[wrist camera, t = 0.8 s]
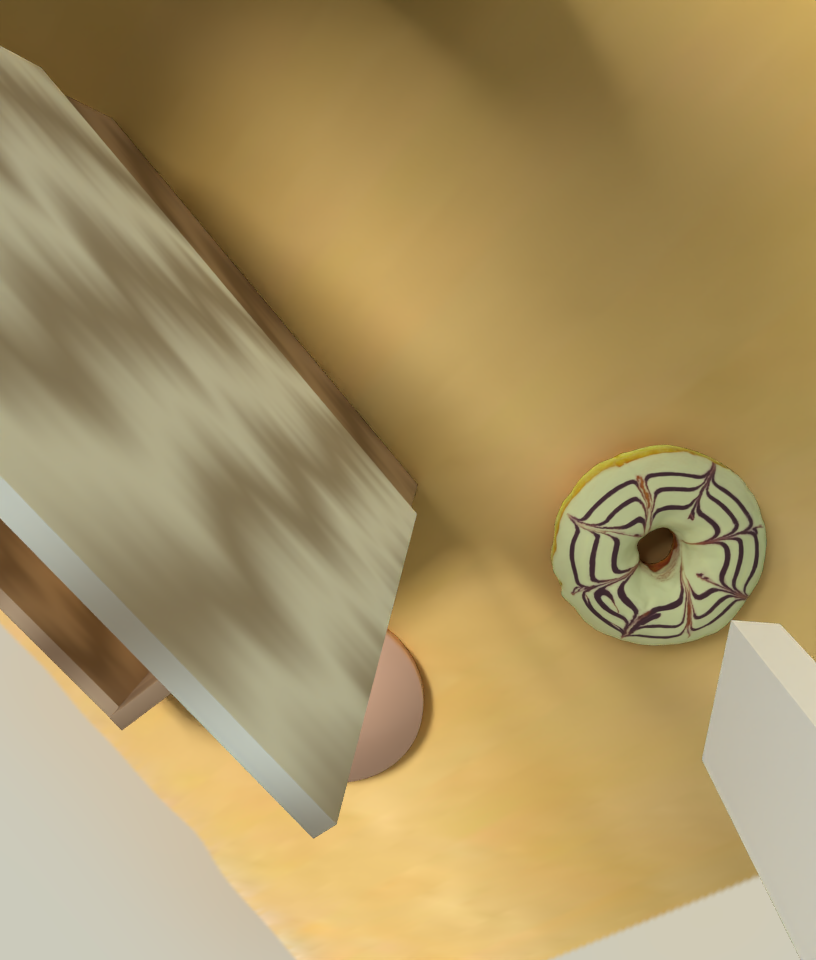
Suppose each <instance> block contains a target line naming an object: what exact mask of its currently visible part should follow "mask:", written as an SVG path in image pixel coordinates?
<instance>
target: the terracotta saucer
mask: <svg viewBox="0 0 816 960" xmlns="http://www.w3.org/2000/svg"><path fill="white" fill-rule="evenodd" d="M423 704H424V692H423V684H422V680H421V676H420V673H419V670H418V668H417V666H416V663H415V661H414V660H413V658H412V656H411V654H410V653H409V651H408V650H407V649H406V647H405V646H404V645H403V644H402V642H401V641H400V640H399V639H398V638H397V637H396V636H395V635H394V634H393V633H392V632H390V631H389V630H388V629H387V631H386V635H385V639H384V643H383V647H382V651H381V655H380V658H379V662H378V666H377V670H376V674H375V678H374V682H373V685H372V689H371V693H370V697H369V701H368V705H367V709H366V712H365V716H364V720H363V724H362V728H361V732H360V736H359V739H358V743H357V747H356V751H355V755H354V759H353V763H352V766H351V770H350V774H349V778H348V782H351V781H357V780H361V779H365V778H368V777H371V776H374V775H376V774H378V773H380V772H382V771H384V770H386V769H388V768H389V767H390V766H392V765H393V764H395V763H396V762H397V761H398V760H399V759H400V758H401V757H402V756H403V755H404V754H405V753H406V752H407V751H408V749H409V748H410V747H411V745H412V743H413V742H414V740H415V738H416V736H417V733H418V731H419V728H420V725H421V720H422V714H423Z"/></svg>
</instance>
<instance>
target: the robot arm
mask: <svg viewBox="0 0 816 960" xmlns="http://www.w3.org/2000/svg"><path fill="white" fill-rule="evenodd" d="M702 761H703V763H704V765H705V767H706V769H707V771H708V773H709V775H710V777H711V779H712V781H713V783H714V785H715V787H716V789H717V791H718V793H719V796H720V798H721V800H722V802H723V804H724V806H725V808H726V810H727V812H728V814H729V816H730V818H731V820H732V822H733V824H734V826H735V828H736V830H737V832H738V834H739V836H740V838H741V840H742V842H743V844H744V846H745V848H746V850H747V852H748V854H749V856H750V858H751V860H752V862H753V864H754V866H755V868H756V870H757V872H758V875H759V877H760V879H761V880H762V883H763V885H764V886H765V889H766V891H767V893H768V895H769V897H770V899H771V901H772V903H773V905H774V907H775V909H776V911H777V913H778V915H779V917H780V919H781V921H782V923H783V925H784V927H785V929H786V931H787V933H788V935H789V937H790V939H791V941H792V943H793V945H794V947H795V949H796V951H797V954H798V956H799V958H800V960H816V662H815V661H814V660H813V659H812V658H811V657H810V656H809V655H808V654H807V652H806V651H805V650H804V649H803V648H802V647H801V646H800V645H799V644H798V643H797V642H796V641H795V639H794V638H793V637H792V636H791V635H790V634H789V633H788V632H787V631H786V630H785V629H784V628H783V627H782V625H781V624H775V623H762V622H749V621H736V620H731V623H730V628H729V633H728V638H727V642H726V647H725V652H724V657H723V661H722V666H721V671H720V676H719V680H718V685H717V690H716V695H715V699H714V704H713V709H712V714H711V718H710V723H709V728H708V733H707V737H706V742H705V747H704V752H703V757H702Z"/></svg>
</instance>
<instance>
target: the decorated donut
mask: <svg viewBox="0 0 816 960" xmlns="http://www.w3.org/2000/svg"><path fill="white" fill-rule="evenodd" d="M554 525H555V528H554V530H555V534H554V540H553V545H552V548H551V562H552V567H553V571H554V574H555V575H556V576H557V578H558V581H559V584H560V586H561V587H562V591H561V594H562V596H563V598H564V599H565V600H567V601H568V602H569V603H570V604H571V605H572V606H573V607H575V609H576V610H577V612H578V613H579V615H580V616H581V617H582V619H583V620H584V621H585V622H586V623H588V624H589V625H590V626H591V627H593V628H594V629H596V630H598V631H600V632H602V633H604V634H606V635H609V636H612V637H615V638H617V639H620V640H623V641H628V642H632V643H635V644H641V645H668V644H680V643H686V642H690V641H694V640H697V639H700V638H702V637H704V636H707V635H711V634H714V633H716V632H718V631H719V630H720V629H722V628H723V627H724V626H726V625H727V624H728V623H729V622H730V621H731V620H732V619H733V618H734V617H735V615H736V614H737V612H738V611H739V610H740V609H741V607H742V606H743V604H744V603H745V601H746V600H747V598H748V597H749V596H750V594H751V592H752V591H753V589H754V588H755V586H756V585H757V583H758V581H759V579H760V576H761V573H762V571H763V565H764V560H765V553H766V545H767V539H766V529H765V524H764V522H763V519H762V517H761V513H760V509H759V506H758V504H757V501H756V499H755V497H754V495H753V494H752V493H751V491H750V490H749V489H748V488H747V486H746V484H745V483H744V481H743V480H742V479H741V478H740V477H739V476H738V475H737V474H735V473H734V472H733V471H732V470H731V469H729V468H728V467H726V466H724V465H723V464H722V463H720V462H718V461H716V460H714V459H712V458H710V457H708V456H706V455H704V454H701V453H699V452H696V451H693V450H690V449H687V448H682V447H678V446H673V445H655V446H648V447H645V448H640V449H637V450H634V451H630V452H625V453H621V454H619V455H617V456H615V457H614V458H611V459H609V460H607V461H604V462H601V463H599V464H597V465H596V466H594V467H593V468H592V469H591V470H590V471H589V472H587V473H586V474H585V475H584V476H583V477H582V478H581V479H580V480H579V481H578V483H577V484H576V485H575V487H574V488H573V490H572V492H571V493H570V494H569V495H568V497H567V498H566V499H565V500H564V501H563V503H562V506H561V508H560V509H559V512H558V514H557V517H556V521H555V524H554ZM661 527H665V528H668V529H669V530H670V532H671V533H673V538H674V539H673V544H672V549H671V550H670V552H669V555H668V556H667V557H666V558H665V559H664V560H663V561H662V560H661V562H659V563H654V564H653V563H651V564H646V563H643V562H641V561H640V560H639V552H638V549H637V544H638V542H639V540H640V539H641V538H642V537H644V536H645V535H647V534H648V533H650V532H651V531H653V530H655V529H657V528H661Z"/></svg>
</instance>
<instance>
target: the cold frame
mask: <svg viewBox="0 0 816 960" xmlns="http://www.w3.org/2000/svg"><path fill="white" fill-rule="evenodd" d="M417 486H418V484H417V483H416V482H415V481H414V480H413V478H412V477H411V476H410V475H409V474H408V472H407V471H406V470H405V469H404V468H403V466H402V465H401V464H400V463H399V462H398V460H397V459H396V458H395V457H394V456H393V454H392V453H391V452H390V451H389V450H388V448H387V447H386V446H385V445H384V444H383V442H382V441H381V440H380V439H379V438H378V436H377V435H376V434H375V433H374V432H373V430H372V429H371V428H370V427H369V426H368V425H367V423H366V422H365V421H364V420H363V419H362V417H361V416H360V415H359V414H358V413H357V411H356V410H355V409H354V408H353V407H352V405H351V404H350V403H349V402H348V401H347V399H346V398H345V397H344V396H343V395H342V393H341V392H340V391H339V390H338V389H337V387H336V386H335V385H334V384H333V383H332V381H331V380H330V379H329V378H328V377H327V375H326V374H325V373H324V372H323V371H322V369H321V368H320V367H319V366H318V365H317V363H316V362H315V361H314V360H313V359H312V357H311V356H310V355H309V354H308V353H307V351H306V350H305V349H304V348H303V347H302V345H301V344H300V343H299V342H298V341H297V339H296V338H295V337H294V336H293V335H292V333H291V332H290V331H289V330H288V329H287V327H286V326H285V325H284V324H283V323H282V321H281V320H280V319H279V318H278V317H277V315H276V314H275V313H274V312H273V311H272V309H271V308H270V307H269V306H268V305H267V303H266V302H265V301H264V300H263V299H262V297H261V296H260V295H259V294H258V293H257V291H256V290H255V289H254V288H253V287H252V285H251V284H250V283H249V282H248V281H247V279H246V278H245V277H244V276H243V275H242V273H241V272H240V271H239V270H238V269H237V267H236V266H235V265H234V264H233V263H232V261H231V260H230V259H229V258H228V257H227V255H226V254H225V253H224V252H223V251H222V249H221V248H220V247H219V246H218V245H217V243H216V242H215V241H214V240H213V239H212V237H211V236H210V235H209V234H208V233H207V231H206V230H205V229H204V228H203V227H202V225H201V224H200V223H199V222H198V221H197V219H196V218H195V217H194V216H193V215H192V213H191V212H190V211H189V210H188V209H187V207H186V206H185V205H184V204H183V203H182V201H181V200H180V199H179V198H178V197H177V195H176V194H175V193H174V192H173V191H172V189H171V188H170V187H169V186H168V185H167V183H166V182H165V181H164V180H163V179H162V177H161V176H160V175H159V174H158V173H157V171H156V170H155V169H154V168H153V167H152V165H151V164H150V163H149V162H148V161H147V159H146V158H145V157H144V156H143V155H142V153H141V152H140V151H139V150H138V149H137V147H136V146H135V145H134V144H133V143H132V141H131V140H130V139H129V138H128V137H127V135H126V134H125V133H124V132H123V131H122V129H121V128H120V127H119V126H118V125H117V124H116V122H115V121H114V120H113V119H112V118H110V117H108V116H106V115H104V114H102V113H100V112H98V111H96V110H94V109H92V108H90V107H88V106H86V105H84V104H82V103H80V102H78V101H76V100H74V99H72V98H70V97H68V96H66V95H64V94H63V93H62V92H61V91H60V89H59V88H58V87H57V86H56V85H55V83H54V82H53V81H52V80H51V79H50V77H49V76H48V75H47V74H46V73H45V72H44V70H43V69H42V68H41V67H39V66H37V65H35V64H34V63H32V62H30V61H28V60H26V59H24V58H22V57H20V56H19V55H17V54H15V53H13V52H11V51H9V50H7V49H5V48H4V47H2V46H0V609H1V610H2V611H3V612H4V613H5V614H6V615H7V616H8V617H9V618H10V619H11V620H12V621H13V622H14V623H15V624H16V625H17V626H18V627H19V628H20V629H21V630H22V631H23V632H24V633H25V634H26V635H27V636H28V637H29V638H30V639H31V640H32V641H33V642H34V643H35V644H36V645H37V646H38V647H39V648H40V649H41V650H42V651H43V652H44V653H45V654H46V655H47V656H48V657H49V658H50V659H51V660H52V661H53V662H54V663H55V664H56V665H57V666H58V667H59V668H60V669H61V670H62V671H63V672H64V673H65V674H66V675H67V676H68V677H69V678H70V679H71V680H72V681H73V682H74V683H75V684H76V685H77V686H78V687H79V688H80V689H81V690H82V691H83V692H84V693H85V694H86V695H87V696H88V697H89V698H90V699H91V700H92V701H93V702H94V703H95V704H96V705H97V706H98V707H100V708H101V709H102V710H103V711H104V712H105V713H106V714H107V715H108V716H109V717H110V719H111V720H112V721H113V722H114V723H115V724H116V725H117V726H118V727H119V728H120V729H121V730H123V729H124V728H126V727H127V726H128V725H130V724H131V723H132V722H134V721H135V720H136V719H138V718H139V717H140V716H142V715H143V714H144V713H146V712H147V711H148V710H150V709H151V708H152V707H154V706H155V705H156V704H158V703H159V702H160V701H162V700H163V699H164V698H166V697H167V696H168V695H170V694H172V695H173V696H174V697H175V698H176V699H177V700H178V701H179V702H180V703H181V704H182V705H183V706H184V707H185V708H186V709H187V710H188V711H189V712H190V713H191V714H192V715H193V716H194V717H195V718H196V719H197V720H198V721H199V722H200V723H201V724H202V725H203V726H204V727H205V728H206V729H207V730H208V731H209V732H210V733H211V734H212V735H213V737H214V738H215V739H216V740H217V741H218V742H219V743H220V744H221V745H222V746H223V747H224V748H225V749H226V750H227V751H228V752H229V753H230V754H231V755H232V756H233V757H234V758H235V759H236V760H237V761H238V762H239V763H240V764H241V765H242V766H243V767H244V768H245V769H246V770H247V771H248V772H249V773H250V774H251V775H252V776H253V777H254V778H255V779H256V780H257V782H258V783H259V784H260V785H261V786H262V787H263V788H264V789H265V790H266V791H267V792H268V793H269V794H270V795H271V796H272V797H273V798H274V799H275V800H276V801H277V802H278V803H279V804H280V805H281V806H282V807H283V808H284V809H285V810H286V811H287V812H288V813H289V814H290V815H291V816H292V817H293V818H294V819H295V820H296V821H297V822H298V823H299V824H300V825H301V827H302V828H303V829H304V830H305V831H306V832H307V833H308V834H309V835H310V836H311V837H312V838H313V839H314V838H315V837H317V836H318V835H320V834H322V833H323V832H325V831H326V830H328V829H330V828H331V827H333V826H335V825H336V824H337V820H338V817H339V813H340V809H341V805H342V801H343V797H344V793H345V790H346V786H347V782H348V778H349V774H350V770H351V766H352V763H353V759H354V755H355V751H356V747H357V743H358V739H359V736H360V732H361V728H362V724H363V720H364V716H365V712H366V709H367V705H368V701H369V697H370V693H371V689H372V685H373V682H374V678H375V674H376V670H377V666H378V662H379V658H380V655H381V651H382V647H383V643H384V639H385V635H386V631H387V628H388V624H389V620H390V616H391V612H392V608H393V604H394V601H395V597H396V593H397V589H398V585H399V581H400V577H401V574H402V570H403V566H404V562H405V558H406V554H407V550H408V547H409V543H410V539H411V535H412V531H413V527H414V524H415V520H416V516H417V513H416V512H415V511H414V510H413V509H412V507H411V506H412V503H413V499H414V496H415V493H416V489H417Z"/></svg>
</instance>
